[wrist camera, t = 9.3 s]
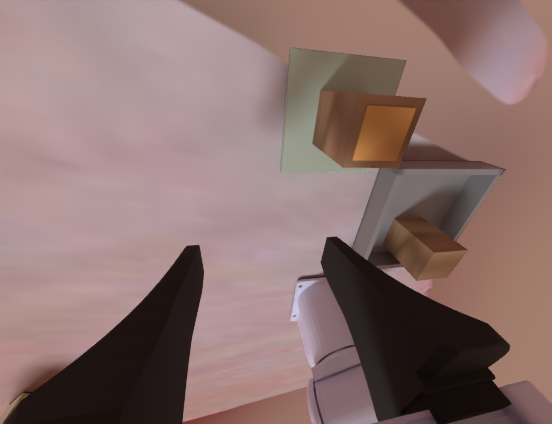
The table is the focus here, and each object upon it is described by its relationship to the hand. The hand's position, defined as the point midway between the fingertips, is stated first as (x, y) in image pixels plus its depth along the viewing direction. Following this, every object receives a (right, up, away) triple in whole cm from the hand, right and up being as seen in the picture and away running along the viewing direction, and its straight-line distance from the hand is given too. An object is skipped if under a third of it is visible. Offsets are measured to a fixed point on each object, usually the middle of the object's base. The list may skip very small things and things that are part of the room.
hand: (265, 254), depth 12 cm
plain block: (+17, 0, +14) cm, 22 cm away
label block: (+6, +10, +5) cm, 13 cm away
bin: (+17, +2, +13) cm, 22 cm away
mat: (+6, +10, +6) cm, 13 cm away
